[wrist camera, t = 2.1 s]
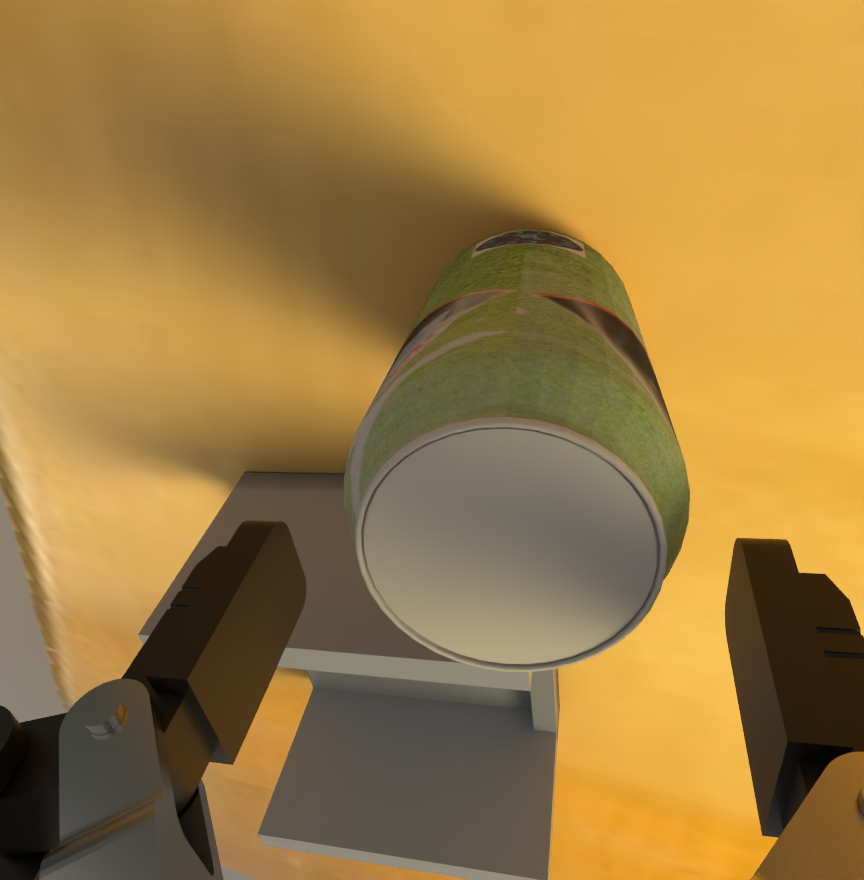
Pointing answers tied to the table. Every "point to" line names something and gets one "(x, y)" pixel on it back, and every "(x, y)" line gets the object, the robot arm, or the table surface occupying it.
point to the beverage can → (519, 463)
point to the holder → (393, 717)
